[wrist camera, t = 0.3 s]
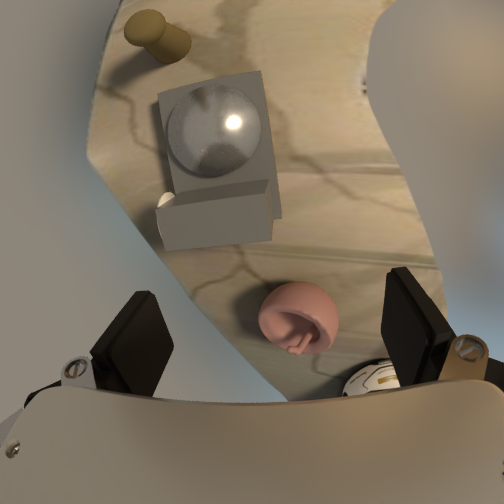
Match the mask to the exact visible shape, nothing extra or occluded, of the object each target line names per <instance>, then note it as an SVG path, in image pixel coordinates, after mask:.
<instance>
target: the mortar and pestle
mask: <svg viewBox="0 0 504 504" xmlns="http://www.w3.org/2000/svg"><path fill="white" fill-rule="evenodd" d="M258 323H259V326H260V329H261V331H262V332H263V334H264V335H265V337H266V338H267V339H268V340H269V341H270V342H272V343H273V344H276V345H277V346H279V347H281V348H284V349H287V352H288V353H294V354H295V355H300V354H301V353H307V354H308V353H309V354H315V353H319V352H324V351H326V350H327V349H329V347H330V346H331V345H332V342H333V341H334V339H335V336H336V334H337V330H338V325H339V316H338V311H337V308H336V305H335V303H334V301H333V300H332V298H331V297H330V295H329V294H328V293H327V292H326V291H324V290H323V289H322V288H320V287H318V286H317V285H314V284H312V283H308V282H300V281H297V282H290V283H286V284H284V285H281V286H279V287H278V288H276V289H275V290H273V291H272V292H271V293H270V294H269V295H268V296H267V297H266V299H265V300H264V302H263V303H262V305H261V308H260V310H259V314H258Z"/></svg>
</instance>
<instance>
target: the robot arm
mask: <svg viewBox="0 0 504 504" xmlns="http://www.w3.org/2000/svg"><path fill="white" fill-rule="evenodd" d="M381 335H382V338H383V341H384V343H385V346H386V348H387V351H388V354H389V356H390V359H391V362H392V365H393V367H394V370H395V373H396V376H397V379H398V382H399V385H400V388H395V389H390V390H384V391H378V392H372V393H366V394H359V395H352V396H345V397H337V398H328V399H319V400H307V401H292V402H271V403H221V402H200V401H185V400H173V399H164V398H155V397H152V396H153V394H154V392H155V389H156V387H157V385H158V383H159V380H160V378H161V376H162V374H163V371H164V369H165V367H166V365H167V363H168V360H169V358H170V356H171V354H172V351H173V348H174V344H173V341H172V338H171V336H170V333H169V331H168V329H167V326H166V323H165V321H164V318H163V316H162V313H161V310H160V308H159V305H158V302H157V300H156V297H155V295H154V294H152V293H151V292H150V291H136V292H135V293H134V295H133V296H132V297H131V298H130V299H129V301H128V302H127V303H126V305H125V306H124V307H123V308H122V310H121V311H120V312H119V313H118V315H117V316H116V317H115V319H114V320H113V321H112V322H111V324H110V325H109V326H108V328H107V329H106V331H105V332H104V333H103V334H102V336H101V337H100V338H99V340H98V341H97V342H96V344H95V345H94V347H93V348H92V349H91V351H90V354H91V355H92V357H93V358H92V360H90V359H89V358H88V357H84V356H83V357H82V356H81V357H76V358H74V359H72V360H70V361H69V362H68V363H66V365H65V366H64V367H63V369H62V371H61V380H60V381H57V382H55V383H53V384H51V385H49V386H47V387H44V388H42V389H40V390H38V391H35V392H33V393H31V394H30V395H29V396H28V397H27V399H26V402H25V404H24V410H23V409H22V408H21V409H20V410H18V411H17V412H15V413H14V414H13V415H11V416H10V417H9V418H7V419H6V420H5V421H3V422H2V423H1V424H0V504H504V363H503V362H500V361H497V360H495V359H492V358H489V357H488V356H489V349H488V347H487V345H486V343H485V342H484V341H483V340H482V339H480V338H479V337H477V336H474V335H469V334H465V335H460V336H458V337H457V336H456V335H455V333H454V331H453V330H452V328H451V327H450V325H449V324H448V322H447V321H446V319H445V318H444V316H443V315H442V314H441V312H440V311H439V309H438V308H437V306H436V305H435V304H434V302H433V301H432V299H431V298H430V297H429V296H428V295H427V294H426V292H425V291H424V290H423V288H422V287H421V286H420V284H419V283H418V282H417V280H416V279H415V278H414V276H413V275H412V274H411V272H410V271H409V270H408V269H407V267H398V268H392V269H391V272H389V273H387V276H386V287H385V297H384V307H383V315H382V323H381Z"/></svg>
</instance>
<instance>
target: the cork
mask: <svg viewBox="0 0 504 504" xmlns="http://www.w3.org/2000/svg"><path fill="white" fill-rule="evenodd" d="M124 36H125V38H126V40H127V41H128V42H129V43H130V44H132V45H134V46H140V47H144V48H145V49H146V50H147V51H149V52H150V53H151V54H152V55H153V56H154V57H155V58H156V59H157V60H159V61H160V62H162V63H167V64H168V63H174V62H177V61H179V60H181V59H182V58H184V57H185V56H186V54H187V53H188V52H189V50H190V48H191V42H192V41H191V37H190V35H189V34H188V33H187V32H185V31H184V30H182V29H180V28H178V27H176V26H174V25H171V24H169V23H167V22H166V20H165V17H164V16H163V15H162V14H161V13H160V12H158V11H156V10H151V9H147V10H142V11H139V12H137V13H135V14H134V15H133V16H131V17H130V19H129V20H128V21H127V23H126V25H125V28H124Z"/></svg>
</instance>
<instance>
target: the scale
mask: <svg viewBox="0 0 504 504" xmlns="http://www.w3.org/2000/svg"><path fill="white" fill-rule="evenodd" d="M208 85H224V86H228V87H231V88H234V89H236V90H238V91H240V92H241V93H243V94H244V95H245V96H246V97H247V98H248V99H249V100H250V101H251V102H252V103H253V105H254V106H255V108H256V110H257V112H258V115H259V118H260V122H261V135H260V140H259V143H258V146H257V148H256V150H255V152H254V154H253V155H252V157H251V158H250V159H249V160H248V161H247V162H246V163H245V164H244V165H242V166H241V167H240V168H238V169H237V170H235V171H233V172H230V173H228V174H224V175H219V176H206V175H201V174H198V173H195V172H193V171H191V170H189V169H187V168H186V167H185V166H183V165H182V164H181V163H180V162H179V161H178V159H177V158H176V157H175V155H174V154H173V152H172V150H171V147H170V144H169V140H168V124H169V120H170V116H171V114H172V112H173V110H174V108H175V106H176V105H177V104H178V102H179V101H180V100H181V99H182V98H183V97H184V96H185V95H187V94H188V93H190V92H191V91H193V90H195V89H197V88H200V87H203V86H208ZM158 101H159V108H160V114H161V120H162V126H163V132H164V138H165V144H166V149H167V155H168V160H169V165H170V170H171V175H172V180H173V185H174V190H175V195H176V196H175V195H174V194H173V193H171V192H166V193H163V194H162V195H161V197H160V198H159V201H158V205H157V208H156V209H155V213H156V217H157V224H158V229H159V232H160V235H161V238H162V240H163V244H164V248H165V251H175V250H185V249H194V248H204V247H213V246H223V245H232V244H242V243H252V242H262V241H272V230H273V220H274V219H282V211H281V203H280V195H279V187H278V179H277V172H276V164H275V157H274V150H273V143H272V136H271V129H270V123H269V116H268V110H267V103H266V97H265V91H264V85H263V79H262V74H261V71H255V72H248V73H242V74H236V75H231V76H225V77H220V78H215V79H211V80H206V81H202V82H198V83H194V84H190V85H186V86H182V87H178V88H175V89H171V90H168V91H164V92H161V93H158Z"/></svg>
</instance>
